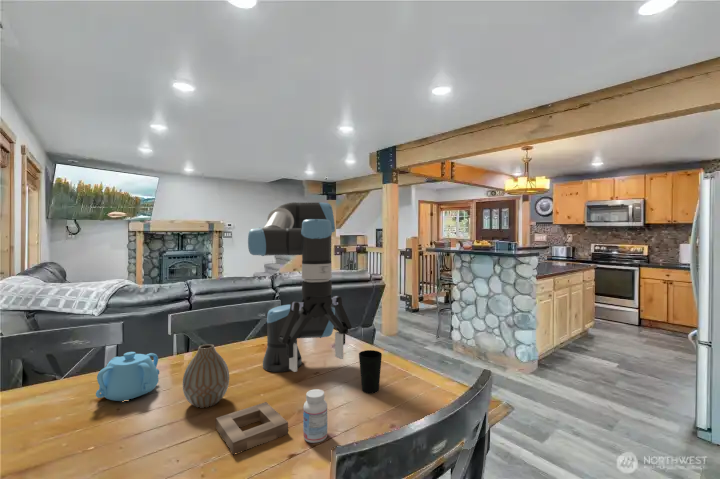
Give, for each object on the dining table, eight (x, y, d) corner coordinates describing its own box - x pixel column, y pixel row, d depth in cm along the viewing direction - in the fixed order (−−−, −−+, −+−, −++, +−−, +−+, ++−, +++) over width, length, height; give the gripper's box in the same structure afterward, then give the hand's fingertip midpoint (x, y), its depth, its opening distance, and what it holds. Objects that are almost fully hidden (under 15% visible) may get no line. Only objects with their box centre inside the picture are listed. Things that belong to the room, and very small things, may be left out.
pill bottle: (304, 430, 90) (304, 388, 89) (327, 429, 90) (327, 387, 90) (302, 444, 83) (302, 399, 83) (327, 443, 84) (327, 398, 84)
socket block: (215, 429, 90) (215, 417, 90) (266, 412, 99) (266, 401, 99) (233, 455, 79) (233, 442, 79) (288, 433, 88) (288, 422, 88)
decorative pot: (165, 381, 121) (165, 343, 121) (148, 403, 105) (148, 359, 105) (113, 386, 117) (113, 347, 117) (87, 409, 101) (87, 363, 101)
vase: (238, 396, 109) (238, 342, 109) (207, 417, 97) (207, 355, 96) (205, 390, 113) (205, 338, 113) (172, 409, 101) (172, 350, 101)
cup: (380, 396, 109) (379, 358, 109) (356, 394, 110) (356, 357, 110) (383, 385, 116) (383, 350, 116) (361, 384, 118) (361, 349, 118)
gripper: (277, 286, 76) (278, 381, 76) (364, 277, 91) (364, 356, 91) (263, 282, 82) (264, 371, 82) (347, 275, 97) (347, 349, 97)
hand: (317, 363), depth 87 cm, fingers open, 13 cm apart
